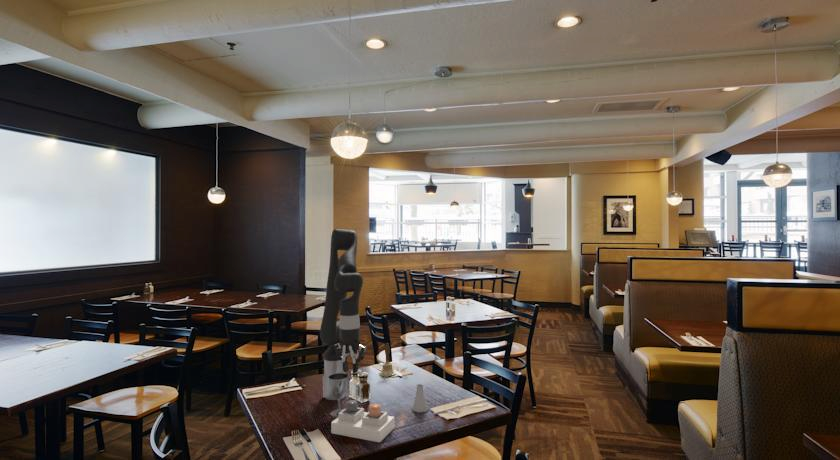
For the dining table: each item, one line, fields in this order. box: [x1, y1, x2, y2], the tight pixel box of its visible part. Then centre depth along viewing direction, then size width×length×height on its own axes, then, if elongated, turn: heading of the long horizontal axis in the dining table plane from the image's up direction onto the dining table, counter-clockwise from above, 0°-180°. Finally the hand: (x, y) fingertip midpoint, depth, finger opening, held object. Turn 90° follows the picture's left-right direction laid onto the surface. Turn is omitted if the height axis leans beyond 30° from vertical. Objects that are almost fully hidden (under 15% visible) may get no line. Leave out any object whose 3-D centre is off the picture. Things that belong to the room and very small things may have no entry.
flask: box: [411, 383, 429, 414], centre depth 176 cm, size 7×7×10 cm
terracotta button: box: [368, 403, 382, 417], centre depth 157 cm, size 4×4×3 cm
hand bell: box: [379, 342, 395, 378], centre depth 220 cm, size 8×8×16 cm
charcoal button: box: [344, 399, 358, 413], centre depth 161 cm, size 4×4×3 cm
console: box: [330, 406, 396, 443], centre depth 159 cm, size 20×12×6 cm, turn 68°
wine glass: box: [329, 372, 349, 418], centre depth 175 cm, size 8×8×15 cm
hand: (350, 371), depth 161 cm, fingers open, 3 cm apart
